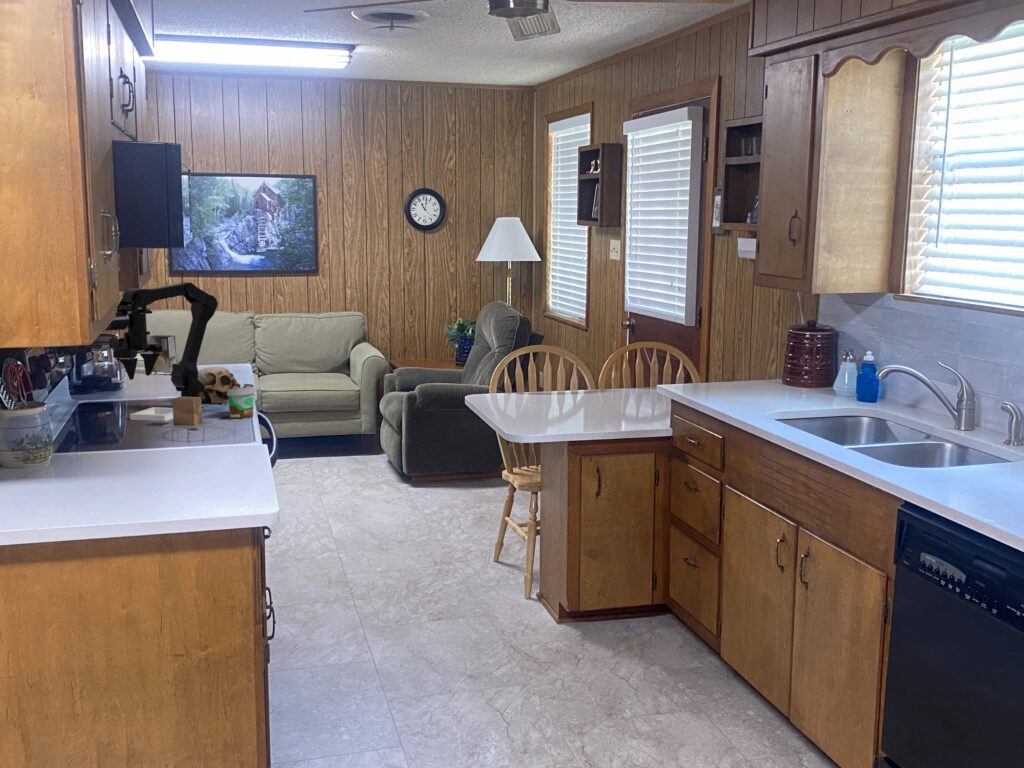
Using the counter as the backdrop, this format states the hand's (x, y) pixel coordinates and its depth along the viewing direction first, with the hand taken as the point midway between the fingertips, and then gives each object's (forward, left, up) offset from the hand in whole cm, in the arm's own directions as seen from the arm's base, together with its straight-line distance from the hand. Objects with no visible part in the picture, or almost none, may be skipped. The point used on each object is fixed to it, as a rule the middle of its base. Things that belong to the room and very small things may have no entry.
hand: (139, 377), depth 313 cm
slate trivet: (+10, +22, -13) cm, 27 cm away
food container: (-8, +32, -13) cm, 36 cm away
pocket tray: (0, +6, -13) cm, 14 cm away
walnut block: (+10, +22, -12) cm, 27 cm away
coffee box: (-92, -48, -13) cm, 105 cm away
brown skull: (-34, +9, -13) cm, 37 cm away
